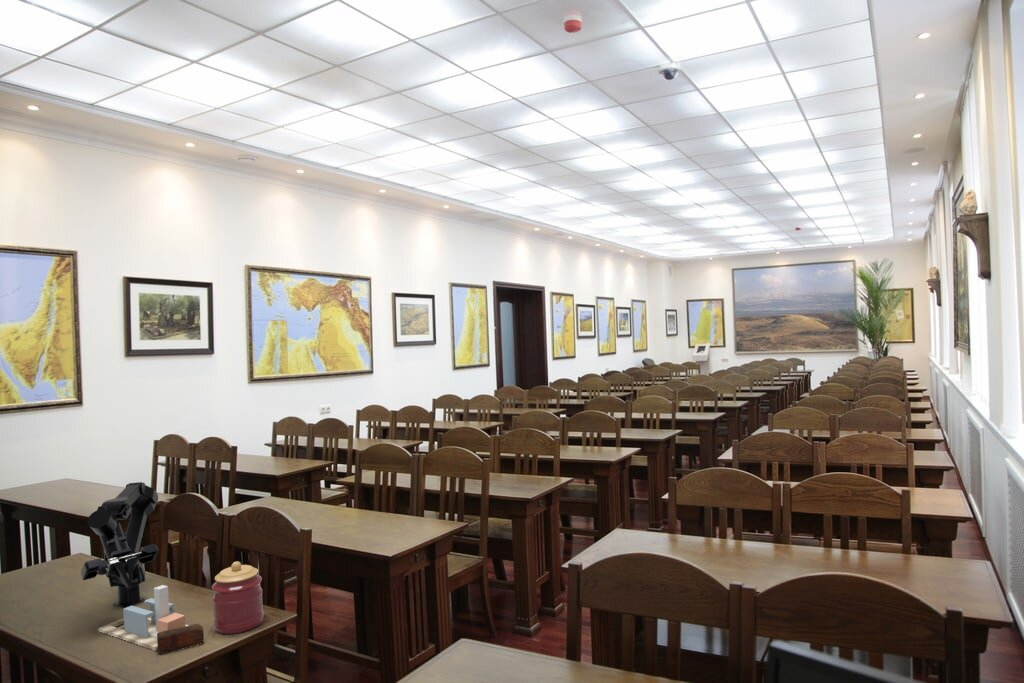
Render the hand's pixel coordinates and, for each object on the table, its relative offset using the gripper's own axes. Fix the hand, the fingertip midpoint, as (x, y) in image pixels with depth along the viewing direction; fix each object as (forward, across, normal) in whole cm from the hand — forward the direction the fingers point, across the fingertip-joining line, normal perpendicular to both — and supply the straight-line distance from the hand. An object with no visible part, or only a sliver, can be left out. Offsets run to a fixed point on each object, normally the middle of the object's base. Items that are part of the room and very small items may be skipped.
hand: (129, 586), depth 184 cm
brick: (+25, -4, +8) cm, 27 cm away
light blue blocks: (+14, -2, -3) cm, 14 cm away
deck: (+12, -2, -4) cm, 13 cm away
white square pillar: (+19, -4, +4) cm, 20 cm away
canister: (+25, -20, +8) cm, 33 cm away
